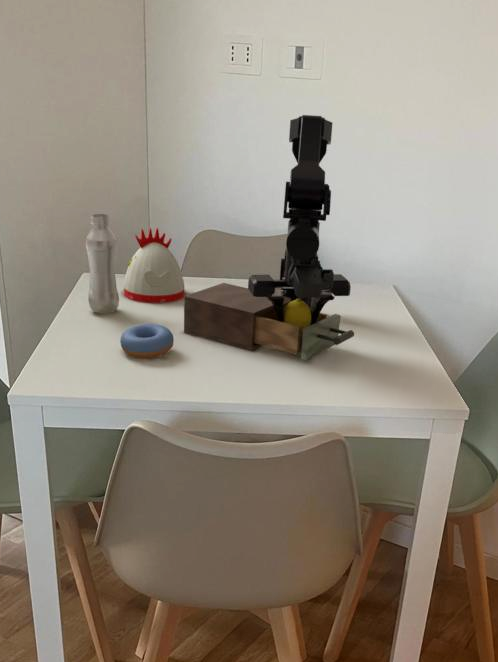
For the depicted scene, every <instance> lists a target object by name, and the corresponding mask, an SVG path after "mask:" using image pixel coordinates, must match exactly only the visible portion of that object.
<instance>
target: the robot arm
mask: <svg viewBox="0 0 498 662" xmlns="http://www.w3.org/2000/svg"><path fill="white" fill-rule="evenodd" d="M289 120H290V122H289V134H288V135H289V136H288V142H289V143H291V152H292V154H293V157H294V159H295V161H296V163H297V164H296V165H295V166H294V167H293V168H291V169H290V176H289V181H285V189H284V203H283V215H282V219H289V220H288V224H287V234H286V242H285V246H286V248H285V250H284V257H283V258H281V259H280V269H279V271H280V272H279V279H273V278H272V277H271V275H270V274H251V275H250V277H248V281H247V282H248V283H247V285H248V286H247V288H248V289H249V291H250V292H251V293H252V295H253V296H255V297H266V298H267V299H268V300H269V301H271V302H272V305H273V307H274V311H275V314H276V318H277V321H280V322H283V303H284V298H283V296H284V297H288V298H291V302H292V301H294V300H296V299H300V300H301V301H303V302H305V303H306V304H307V305H308V306H309V308H310V311H311V324H310V326H311V325H313V324H315V323H316V320H317V318H318V316H319V314H320V313H322V310H323V309H324V307H325V306H326V304H327V303H328V302H330V301H334V300H335V297H349V296H350V295H351V288H352V287H351V282H350V281H349V280H348V279H347V278H346V277H345V276H344V275H342V273H341V274H340V273H336V274H335V273H334V270H333V269H332V268H331V269H330V268H329V269H326V268H325V269H324V268H323V267H322V264H321V260H319V256H318V255H319V254H318V251H319V249H320V224H321V222H320V221H322V222H325V221H327V216H330V214H331V201H332V190H331V189H330V185H329V183H326V171H325V170H324V169H323V168H322V167H321V166H320V163H321V162H322V160H323V159H324V157H325V156H326V154H327V150H328V149H327V148H328V145H331V144H332V135H333V123H334V122H332V121H330V120H327V119H326V118H325V117H323V116H322V115H312V114H311V115H309V114H302V115H299V116H298V117H296V118H294V119H289ZM322 210H323V211H322Z"/></svg>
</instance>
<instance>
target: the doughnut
mask: <svg viewBox="0 0 498 662" xmlns="http://www.w3.org/2000/svg"><path fill="white" fill-rule="evenodd" d="M174 340H175V339H174V335H173V332H172V331H171V330H170V329H169V328H168V327H166V326H164V325H162V324H159V323H140V324H136V325H132V326H130V327H128V328H126V330H124V331H123V332H122V333H121V335H120V339H119V341H120V342H119V343H120V347H121V349H122V351H123V352H124V353H125V354H126V355H128V356H130V357H133V358H135V359H152V358H153V359H154V358H158V357H161V356H164V355H165V354H168V352H170V351H171V349H172V348H173V347H174Z"/></svg>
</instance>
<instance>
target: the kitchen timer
mask: <svg viewBox="0 0 498 662" xmlns="http://www.w3.org/2000/svg"><path fill="white" fill-rule="evenodd" d="M144 231H145V230H144V229H143V228H141V229H140V238H139V237H138V235H137V234H136V233H134V236H135V239H136V241H137V244H138V246H139V248H138V249H137V250H136V252H135V253H134V254H133V256H132V257H131V259H130V261H129V262H128V263H127V265H128V266H127V270H126V273H125V277H124V280H123V281H124V282H123V294H124V297H126V298H127V299H129V300H132V301H135V302H140V303H149V304H162V303H163V304H164V303H171V302H172V303H173V302H176V301H179V300H182V299H184V296H185V293H186V292H185V291H186V290H185V289H186V288H185V280H184V276H183V273H182V271H181V267H180V264H179V262H178V260H177V259H176V256H174V254H173V252H172V251H171V250H170V249H169V247H170V245H171V243H172V237H170V238H169V239H168V240H167V242H165V238H166V233H165V232H163V233H162V234H161V236H160V232H159V228H158V227H156V228H155V233H154V236H153V230H152V227H149V230H148V235H147V237H146V234H145V232H144Z"/></svg>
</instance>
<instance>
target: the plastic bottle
mask: <svg viewBox="0 0 498 662" xmlns="http://www.w3.org/2000/svg"><path fill="white" fill-rule="evenodd" d="M90 220H91V221H90V225H91V226H92V228H91V229H90V230H89V232H88V234H87V236H86V238H85V249H86V253H87V258H88V267H89V290H88V296H87V298H88V305H89V308H90V309H91V311H93V312H95V313H103V314H105V313H113V312H115V311H116V310H117V309H118V308H119V305H120V296H119V291H118V287H117V279H116V257H117V247H118V242H117V239H116V236H115V235H114V233H113V232H112V230H111V229H110V226H111V222H110V215H109V214H106V213H94V214H91V217H90Z"/></svg>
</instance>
